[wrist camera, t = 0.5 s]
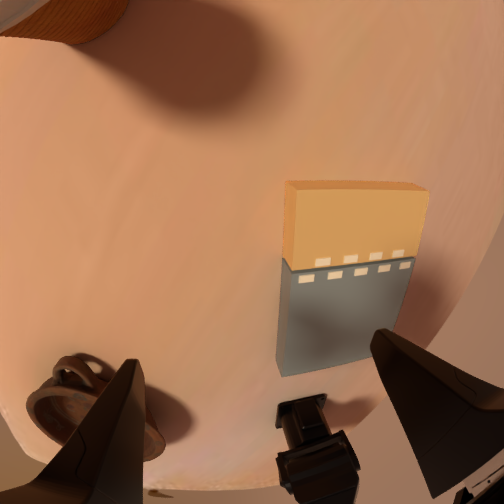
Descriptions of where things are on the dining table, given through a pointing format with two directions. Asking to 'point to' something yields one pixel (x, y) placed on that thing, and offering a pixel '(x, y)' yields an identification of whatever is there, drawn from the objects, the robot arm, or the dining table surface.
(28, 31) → the disposable coffee cup
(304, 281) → the grey flat block
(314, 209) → the stub
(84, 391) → the dish
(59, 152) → the dining table surface
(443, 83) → the dining table surface
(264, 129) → the dining table surface
